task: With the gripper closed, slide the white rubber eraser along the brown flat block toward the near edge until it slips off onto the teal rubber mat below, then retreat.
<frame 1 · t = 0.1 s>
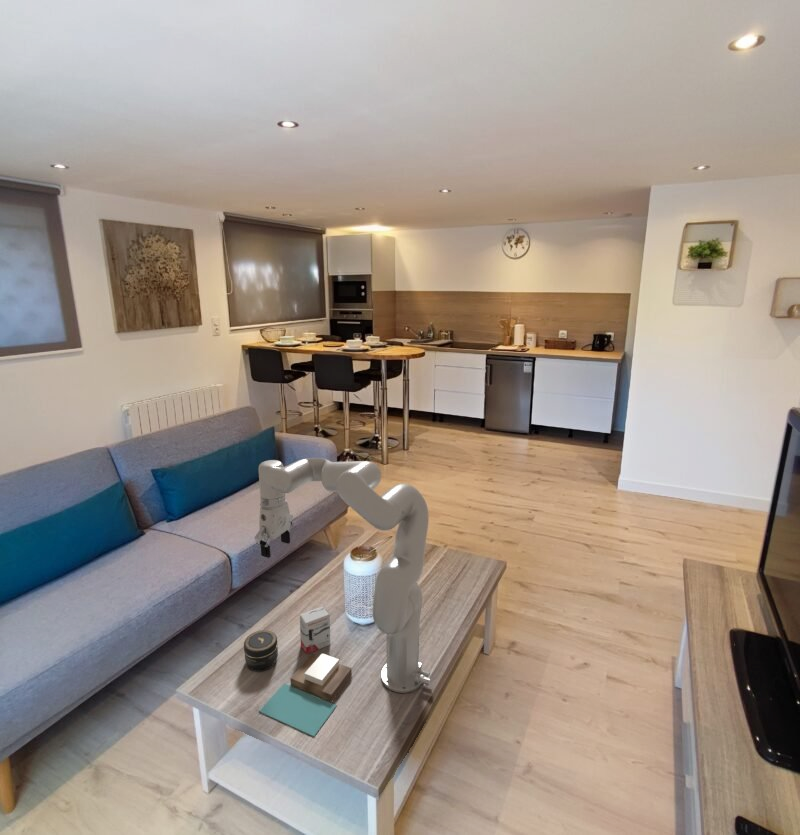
hand: (276, 549, 157), 31 cm above the table, fingers open, 9 cm apart
mat: (298, 708, 135), on the table
ink box: (315, 645, 159), on the table
brown flat block: (321, 680, 145), on the table
jar: (262, 661, 152), on the table
white rubber eraser: (322, 671, 145), point 2 cm above the table, touching brown flat block
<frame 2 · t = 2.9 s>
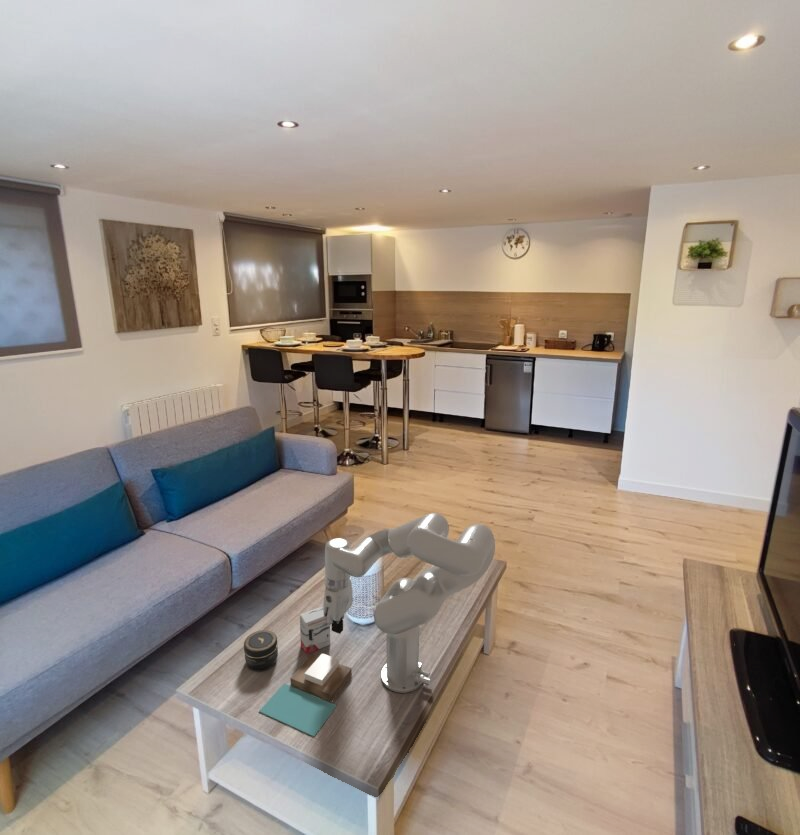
hand: (337, 630, 152), 9 cm above the table, fingers closed
nothing on the table moved.
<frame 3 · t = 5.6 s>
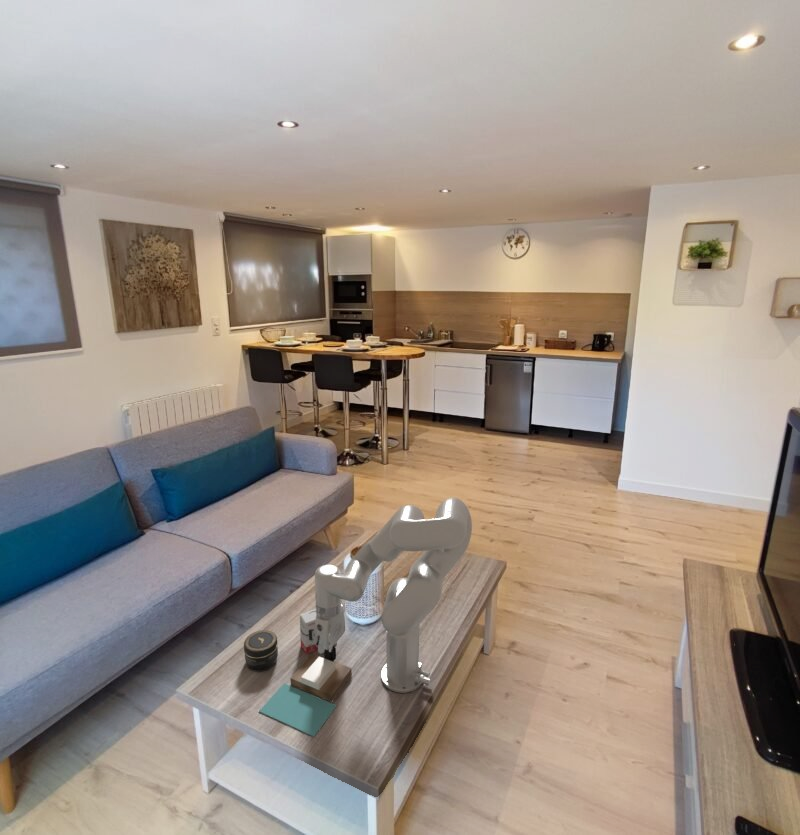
hand: (330, 658, 149), 3 cm above the table, fingers closed
white rubber eraser: (319, 675, 143), point 2 cm above the table, touching brown flat block
everything else where it was.
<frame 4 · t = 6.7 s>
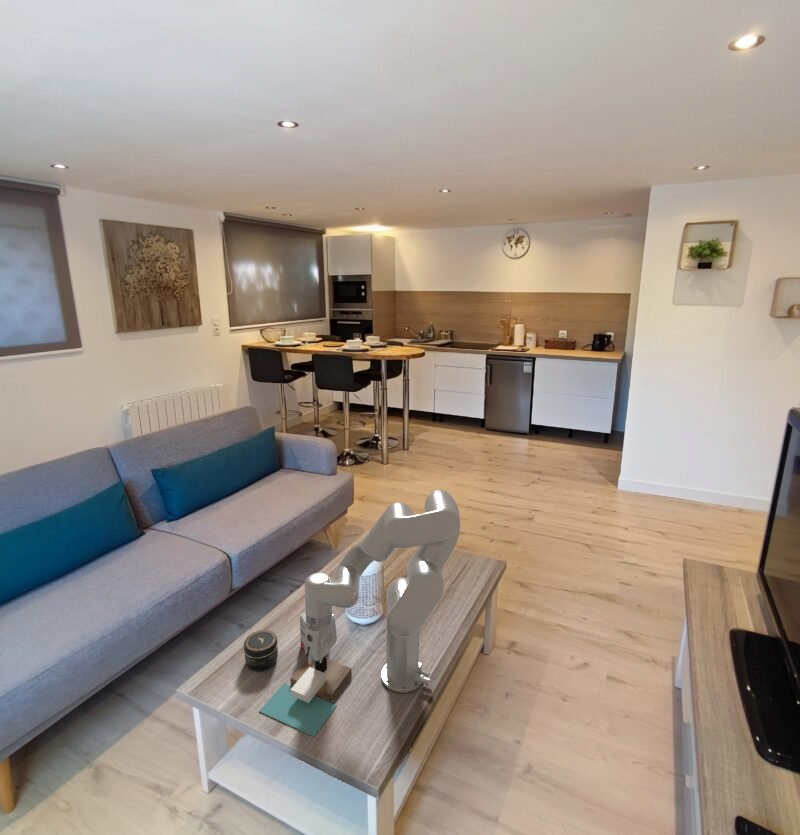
hand: (321, 669, 144), 3 cm above the table, fingers closed
white rubber eraser: (309, 687, 139), point 2 cm above the table, touching brown flat block, gripper
everything else where it was.
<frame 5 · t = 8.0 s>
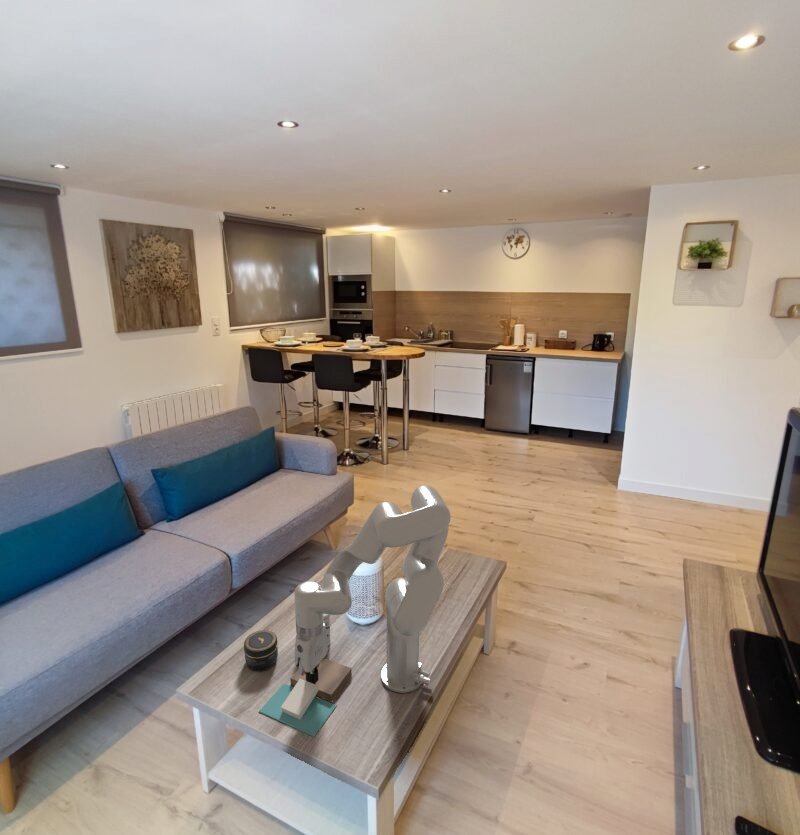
hand: (312, 680, 140), 3 cm above the table, fingers closed
white rubber eraser: (300, 700, 136), point 1 cm above the table, tilted 13°
everything else where it was.
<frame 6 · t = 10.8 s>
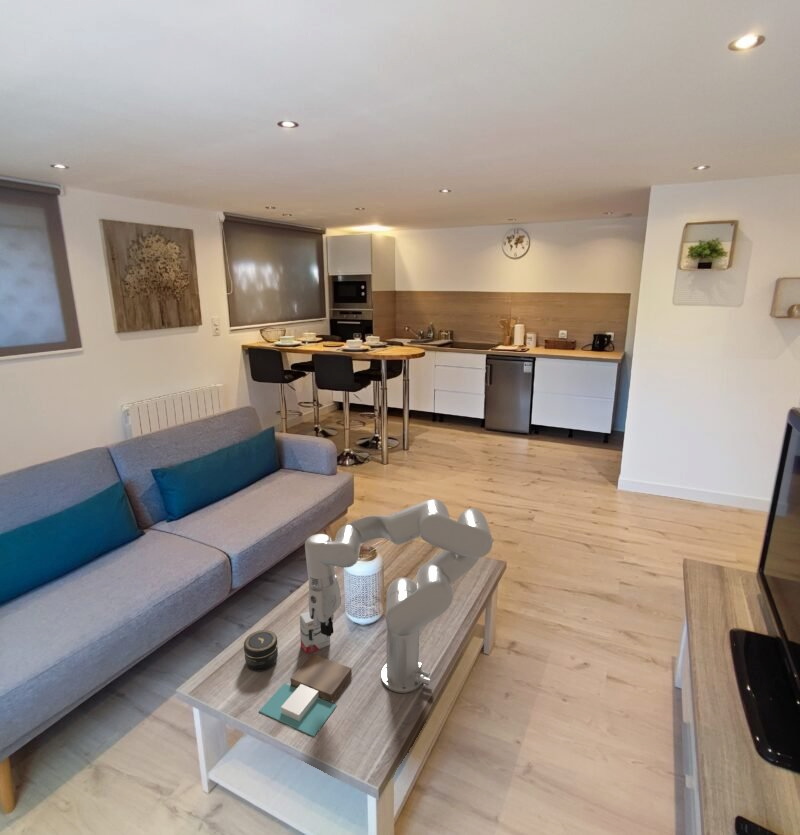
hand: (327, 633, 143), 15 cm above the table, fingers closed
white rubber eraser: (300, 704, 136), resting on mat
everything else where it was.
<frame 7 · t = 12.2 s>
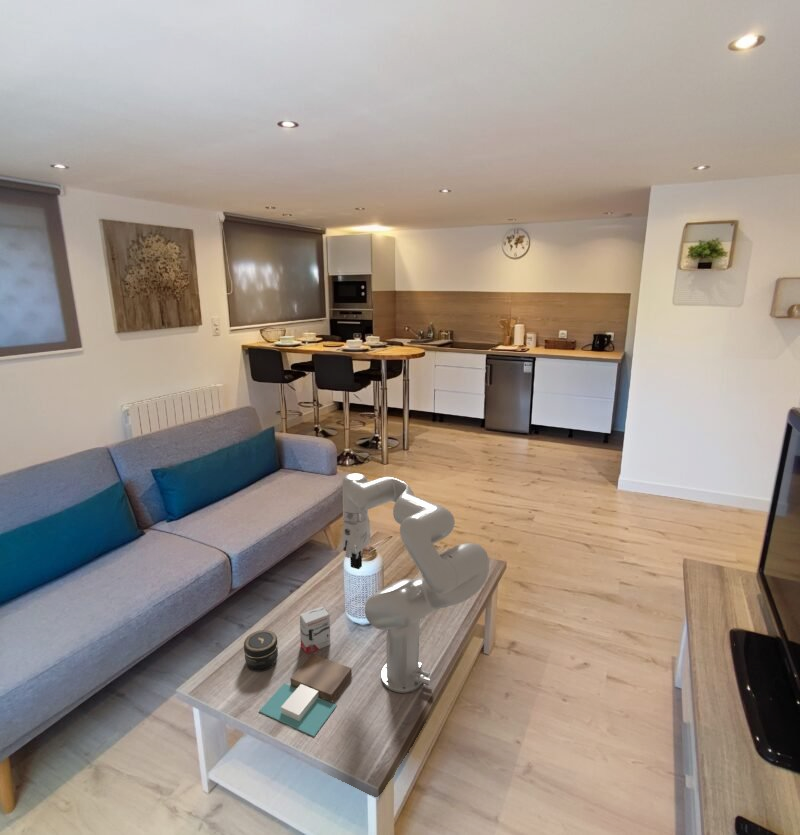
hand: (356, 566, 155), 27 cm above the table, fingers closed
nothing on the table moved.
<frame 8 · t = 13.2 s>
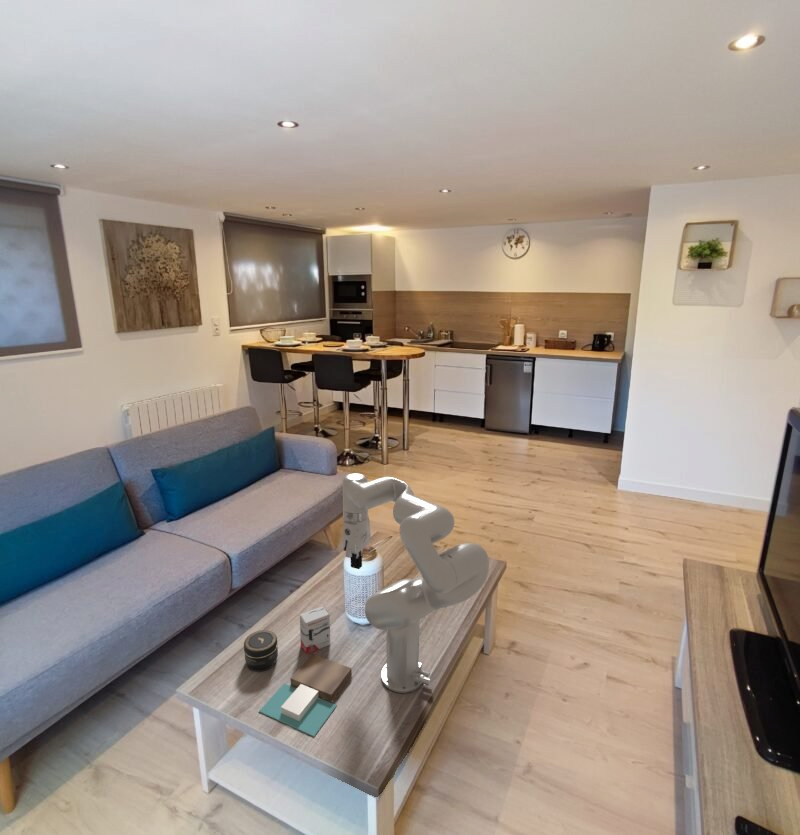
hand: (356, 566, 155), 27 cm above the table, fingers closed
nothing on the table moved.
at the end: white rubber eraser inside the target area (1.7 cm from its centre), resting on mat; white rubber eraser resting on mat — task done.
